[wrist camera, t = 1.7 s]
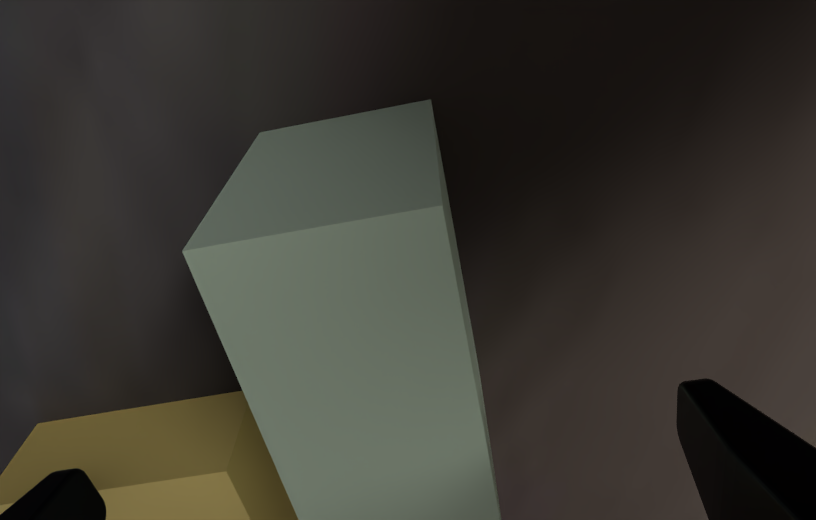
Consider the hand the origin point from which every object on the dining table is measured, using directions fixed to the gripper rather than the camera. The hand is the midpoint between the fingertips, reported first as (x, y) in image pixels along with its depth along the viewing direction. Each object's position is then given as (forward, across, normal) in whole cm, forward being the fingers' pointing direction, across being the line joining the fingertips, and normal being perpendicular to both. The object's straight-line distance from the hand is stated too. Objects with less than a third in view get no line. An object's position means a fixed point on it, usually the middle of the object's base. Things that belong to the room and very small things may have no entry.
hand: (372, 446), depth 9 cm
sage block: (+6, 0, 0) cm, 6 cm away
